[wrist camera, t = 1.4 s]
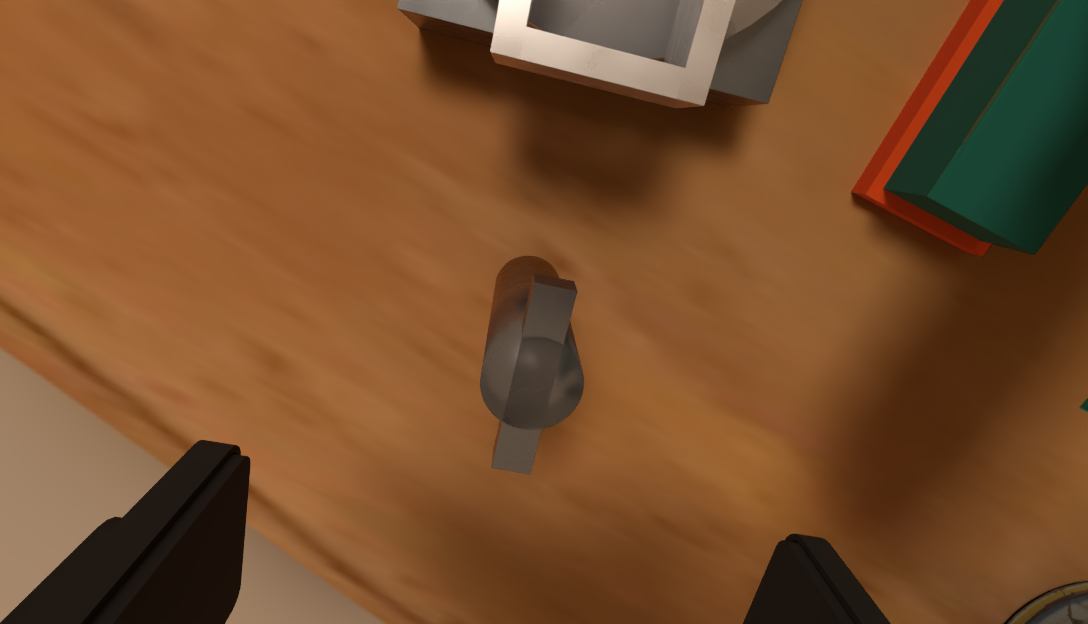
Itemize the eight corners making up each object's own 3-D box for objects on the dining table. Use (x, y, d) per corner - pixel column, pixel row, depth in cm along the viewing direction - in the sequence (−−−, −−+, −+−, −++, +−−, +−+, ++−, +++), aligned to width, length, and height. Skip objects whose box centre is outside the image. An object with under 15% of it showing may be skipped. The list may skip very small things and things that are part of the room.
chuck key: (575, 231, 25) (608, 297, 16) (545, 353, 27) (558, 479, 17) (509, 216, 25) (502, 275, 15) (483, 341, 26) (462, 462, 17)
